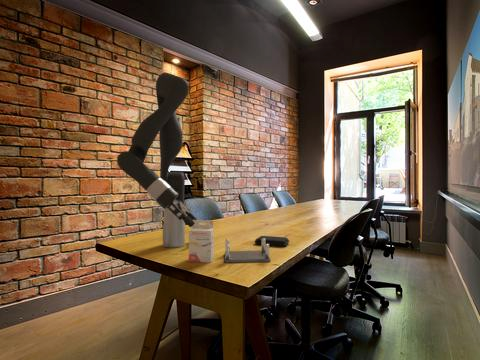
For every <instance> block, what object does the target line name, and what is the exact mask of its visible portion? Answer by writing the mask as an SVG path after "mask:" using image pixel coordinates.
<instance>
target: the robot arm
mask: <svg viewBox="0 0 480 360" xmlns="http://www.w3.org/2000/svg"><path fill="white" fill-rule="evenodd" d="M189 91H190V86H189V83H188V81H187V80H186V79H185V78H184V77H180V76H179V75H175V74H172V73H168V72H162V73H161V74H160V75H158V77H157V79H156V82H155V94H156V101H157V109H156V110H155V111H154V112H152V113H151V114H149V115H148V116H147V117H146V118H144V119H143V120H142V122H141V123H140V124H139V126H137V128H136V130H135V132H134V133H133V135H132V137H131V140H130V141H131V142H130V143H131V145H130V147H129V148H128V150H125V151H122V152H121V153H119V154H118V155H117V158H116V163H117V166H118V167H119V168H120V170H122V171H123V172H124V173H125V174H126V175H128V176H129V177H130V178H131V179H132V180H134V181H136V182H137V184H139V186H140V187H142V189H144V190H145V192H146V193H147V194H148V195H149V196H150V197H151V198H152V199H153V200H154V201H155V202H156V203H157V204H158V205H159V206H160V207H161V208H162V209H163V225H162V248H180V247H184V246H185V244H186V237H185V235H186V229H185V228H186V227H185V226H186V225H187V226H188V227H189V228H193V227H192V226H193V225H194V224H195V223H194V221H193V220H198V219H197V217H196V216H195V215H194V214H193V213H191V210H190V208H188V207H187V206H186V204H185V187H186V185H185V184H186V181H185V180H186V179H185V178H186V177H185V174H184V172H182V171H169V169H170V167H171V164H172V163H173V161H174V160H175V159H176V158H177V156H178V155H179V154H180V153H181V150H182V148H183V130H182V129H183V128H182V126H181V124H180V122H179V119H178V117H177V114H176V111H177V109H179V108H180V106H181V105H182V104H183V102H184V101H185V100H186V98H187V96H188V94H189ZM158 135H159V137H158V138H159V152H160V154H159V156H160V166H159V167H160V168H159V169H160V170H159V174H157V173H156V172H155V171H154V170H153V169H152V168H150V167H148V166H147V165H146V164H145V163H144V162H145V159H146V158H147V154H148V152H149V149H150V148H151V146H152V145H153V143H154V141H155V139H156V138H157V136H158ZM185 224H186V225H185Z"/></svg>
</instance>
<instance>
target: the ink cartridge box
mask: <svg viewBox="0 0 480 360" xmlns="http://www.w3.org/2000/svg"><path fill="white" fill-rule="evenodd" d="M193 221H194V223H195V224H194V225H193V226H192V227H190V229H189V230H188V262H189V263H190V262H191V263H212V261H213V260H214V251H215V250H214V247H215V245H214V243H215V242H214V237H215V236H214V221H213V220H212V219H211V220H210V219H197V220H193ZM202 223H203V224H202Z"/></svg>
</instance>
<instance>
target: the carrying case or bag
mask: <svg viewBox="0 0 480 360" xmlns="http://www.w3.org/2000/svg"><path fill="white" fill-rule="evenodd" d="M263 238H264V239H266V244H269V247H277V248H284V247H286V246H287V245H288V244H289V243H290V240H289V238H288V237H284V236H271V235H270V236H269V235H260V236H258V237H257V238H256V239H255V240H254V244H255V245H257V246H262V241H261V239H263Z"/></svg>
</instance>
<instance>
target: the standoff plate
mask: <svg viewBox="0 0 480 360" xmlns="http://www.w3.org/2000/svg"><path fill="white" fill-rule="evenodd" d="M261 241H262V245H261V250H232V251H231V245H230V239H229V238H226V239H225V248H224V249H225V251H224V262H225V264H230V263H231V264H233V263H265V262H266V263H268V262H270V263H271V257H270V246H269V244H266V239H264V238H263V239H261Z"/></svg>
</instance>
